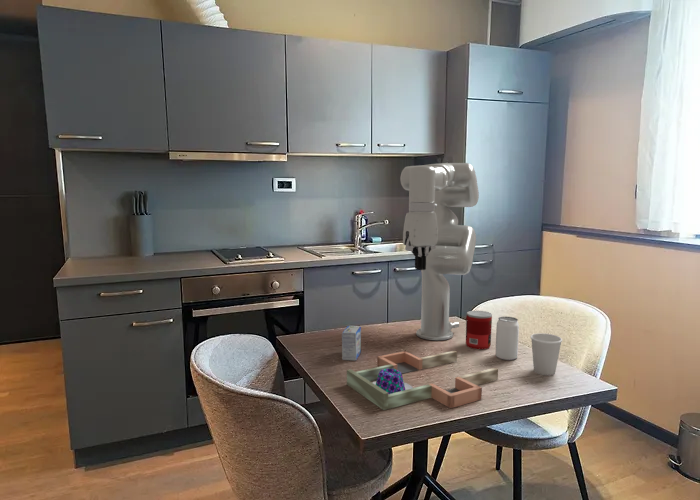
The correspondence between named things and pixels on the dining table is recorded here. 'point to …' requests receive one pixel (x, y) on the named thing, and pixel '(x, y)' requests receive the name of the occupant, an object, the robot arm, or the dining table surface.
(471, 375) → the track
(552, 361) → the dixie cup
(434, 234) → the robot arm
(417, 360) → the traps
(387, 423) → the dining table surface
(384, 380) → the pudding
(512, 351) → the can
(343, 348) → the medicine box
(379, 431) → the dining table surface
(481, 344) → the canned food
